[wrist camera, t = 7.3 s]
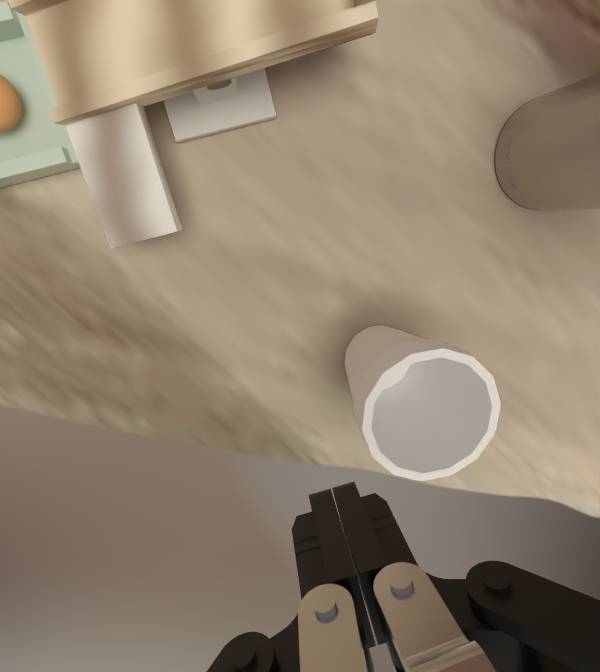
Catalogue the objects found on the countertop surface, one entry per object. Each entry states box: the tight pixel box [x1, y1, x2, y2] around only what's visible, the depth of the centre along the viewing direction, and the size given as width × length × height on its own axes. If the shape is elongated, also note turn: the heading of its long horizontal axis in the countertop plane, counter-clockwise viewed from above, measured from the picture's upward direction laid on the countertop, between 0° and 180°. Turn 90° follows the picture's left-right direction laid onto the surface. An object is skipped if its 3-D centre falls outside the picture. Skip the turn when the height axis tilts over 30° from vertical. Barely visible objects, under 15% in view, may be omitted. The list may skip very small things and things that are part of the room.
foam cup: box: [344, 325, 501, 481], centre depth 36 cm, size 10×9×13 cm
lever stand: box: [163, 68, 276, 143], centre depth 31 cm, size 8×10×6 cm
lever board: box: [8, 0, 378, 249], centre depth 28 cm, size 20×15×5 cm
